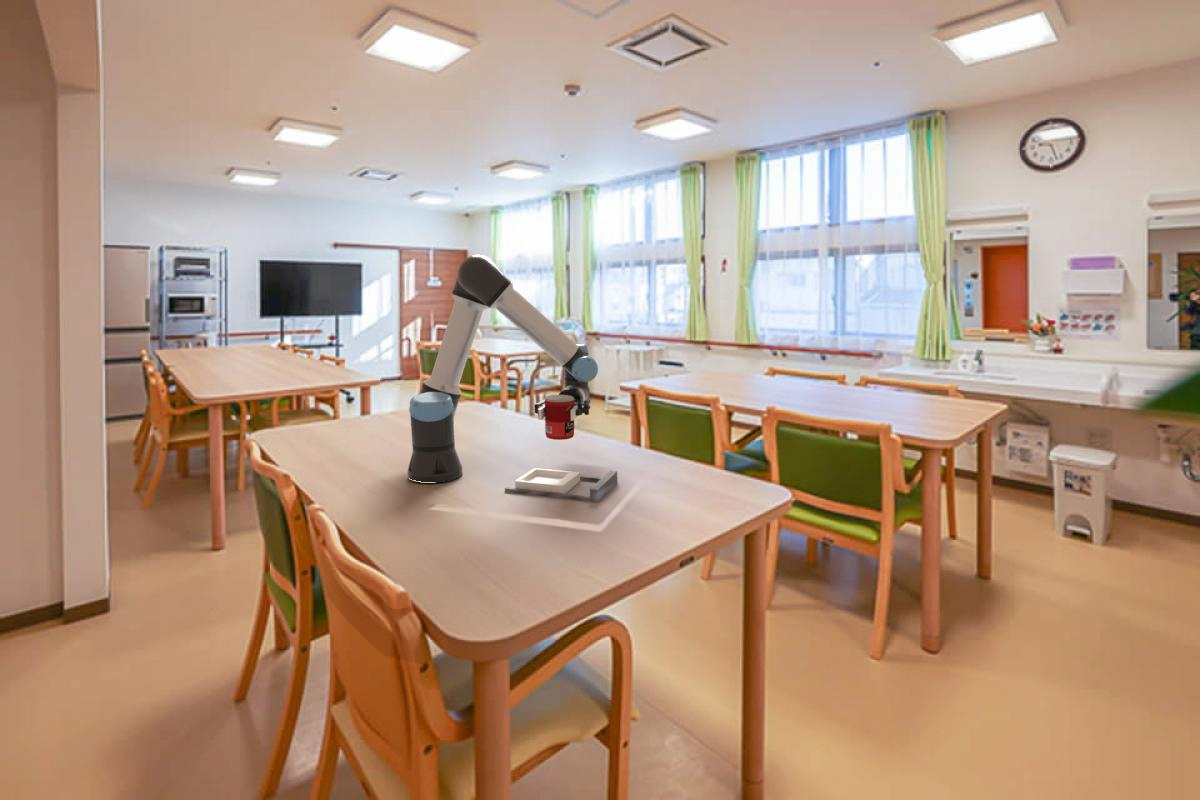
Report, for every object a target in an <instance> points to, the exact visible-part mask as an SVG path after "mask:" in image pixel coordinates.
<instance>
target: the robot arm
mask: <svg viewBox="0 0 1200 800" xmlns="http://www.w3.org/2000/svg"><path fill="white" fill-rule="evenodd" d="M513 285H514V284H513V281H511V280H510V279H509V278H508V277H507V276H506V274H504V272H502V270H501V269H500V268H499V267H498V265H497V264H496V263H495V262H494V261H493V260H492V259H491V258H490V257H488V256H485V255H481V254H473V255H470V256H467V257H466V258H465V259H464V260H463V261H462V262H461V263H460V265H459V267H458V269H457V276H456V279H455V282H454V286H453V288H452V291H451V296H452V298H453V300H454V304H453V307H452V309H451V313H450V316H449V319H448V322H447V325H446V329H445V332H444V335H443V337H442V340H441V344H440V346H439V350H438V353H437V357H436V359H435V362H434V366H433V368H432V372H431V375H430V377H429V378H427V379H425V380H424V381H423V383H422V386H421V389H420V392H419V394H415V395H414V396H412V397H411V398H410V401H409V407H408V408H409V409H408V410H409V413H410V414H409V415H410V427H411V431H410V432H411V443H412V454H411V456H410V460H409V461H410V462H409V464H408V469H407V478H408V477H409V478H410V479H412V480H416V481H421V482H443V481H448V482H450V481H449V480H452V481H454V480H453V479H455V480H457V479H459V478H460V477H462V476H463V466H462V463H461V460H460V458H459V454H458V452H457V450H456V443H455V442H456V441H455V429H454V428H455V426H454V422H455V421H454V420H455V414H456V411H457V408H458V405H459V402H460V399H461V396H462V390H461V389H460V387H459V386H460V382H461V380H462V376H463V373H464V371H465V367H466V364H467V362H468V358H469V354H470V352H471V348H472V346H473V343H474V340H475V336H476V333H477V331H478V327H479V325H480V321H481V319H482V315H483V312H484V311H485V310H487V309H488V310H489V309H496V311H498V312H499V313H500V314H501V315H502V316H504V318H506V319H507V320H508V321H509V322H510V323H512V324H513V325H514V326H515V327H517V329H519V330H520V331H521V332H522V333H523V334H524V335H525V336H526V337H528V338H529V339H530V340H532V341H533V343H534V344H536V345H537V346H538V347H539V348H540V349H541V350H543V351H544V352H545V353H546V354H547V355H549V357H551V358H552V359H553V360H554V361H555V362H557V363H558V364H559V365H560V366H561V367H562V368H563V369H564V378H563V379H564V388H563V389H562V390H561V391H560V392H559V393H558V395H569V396H573V397H574V407H573V408H572V410H571V421H574V422H575V419H576V418H577V417H579V416H581V415H583V414H584V415H585V416H588V415H589V414H590V409H591V399H589V398H590V394H591V388H590V386H589V383H590V382H591V381H593V380H594V379H595V378H597V375H598V372H599V366H598V363H597V361H596V359H594V358H593V357H592V356H590V355H589V348H588V345H587V344H583V343H576V342H575V341H573V340H572V339H571V338H570V337H569V336H568V335H566V333H564V332H563V331H562V330H561V329H560V328H558V326H556V325H555V324H554V323H553V322H552V321H551V320H550V319H548V318H547V317H546V316H545V314H543V313H542V312H541V311H539V309H538V308H536V307H535V306H534V305H533V304H532V303H530V302H529V301H528V299H526V298H525V297H524V296H523V295H522V294H521V293H520V292H518V291H517V290H516V289H515V288H514V286H513ZM534 414H537V415H538V420H539V421H540V420H541V421H542V420H543V419H545V398H544V399H543V400H541V401H539V402H537V403H534ZM461 475H462V476H461ZM456 478H457V479H456ZM443 483H444V482H443Z"/></svg>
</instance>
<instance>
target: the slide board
mask: <svg viewBox="0 0 1200 800" xmlns="http://www.w3.org/2000/svg"><path fill="white" fill-rule="evenodd" d="M580 481H586V482H596V483H595V484H594V485H592V487H591V488H589V496H588V495H581V494H572V493H571V494H570V493H566V494H563V493H554V492H545V491H536V490H527V489H518V488H515V487H505V488H504V493H509V494H510V493H512V494H518V495H519V494H520V495H528V496H529V495H531V496H539V497H546V498H547V497H548V498H554V499H555V498H556V499H564V500H573V501H580V502H591V503H600V501H601V500H602V498H604V497H605V496H606V495H607V494H608V493H609V492H610V491H611V490H612V488H613V487H615V486H616V485H617V483H618V470H609V471H608V472H607V473H605V474H604V475H603V476H602V477H600V476H599V477H597V476H588V475H580Z"/></svg>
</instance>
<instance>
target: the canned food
mask: <svg viewBox="0 0 1200 800" xmlns="http://www.w3.org/2000/svg"><path fill="white" fill-rule="evenodd" d="M544 399H545V417H544V422H545V423H544V429H545V433H544V434H545V437H546V438H547V439H549V440H555V441H556V440H557V441H559V440H569V439H572V438H573V437H574V435H575V420H574V421H571V410H572V408H573V407H574V397H573V396H569V395H559V394H552V395H551V394H550V395H547V396H544Z"/></svg>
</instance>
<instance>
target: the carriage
mask: <svg viewBox="0 0 1200 800" xmlns="http://www.w3.org/2000/svg"><path fill="white" fill-rule="evenodd" d="M580 476H581V472H580V471H570V470H561V469H560V470H559V469H549V468H538V467H534V468H533V469H531V470H529V471H528V472H526V473H525V474H524V475H521V476H520V477H519V478H517V479H516V480H514V485H515V486H514V488H518V489H527V490H536V491H545V492H554V493H563V494H568V492H569V491H570V490H572V489H573V488H574V487H575V486H576V485H578V483H580V482H581V480H580Z"/></svg>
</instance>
